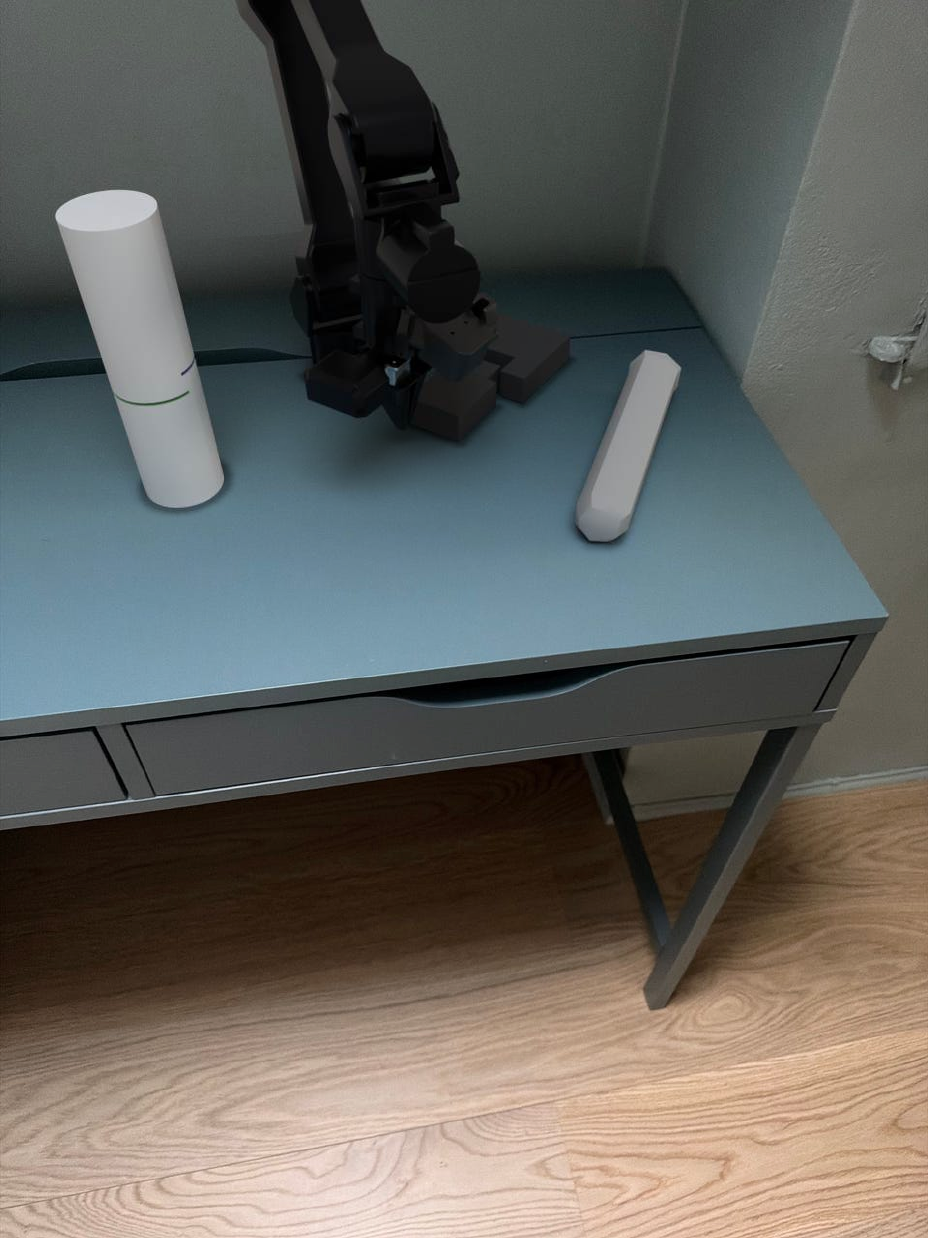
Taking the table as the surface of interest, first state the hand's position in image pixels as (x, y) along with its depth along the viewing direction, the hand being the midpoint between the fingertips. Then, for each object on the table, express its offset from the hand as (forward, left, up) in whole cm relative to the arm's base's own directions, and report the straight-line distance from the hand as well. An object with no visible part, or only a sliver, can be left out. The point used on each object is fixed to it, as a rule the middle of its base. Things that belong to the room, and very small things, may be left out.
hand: (402, 427), depth 84 cm
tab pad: (0, +10, -3) cm, 10 cm away
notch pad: (0, +19, -3) cm, 19 cm away
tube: (+16, +10, -1) cm, 19 cm away
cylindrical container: (-15, -14, -4) cm, 21 cm away
